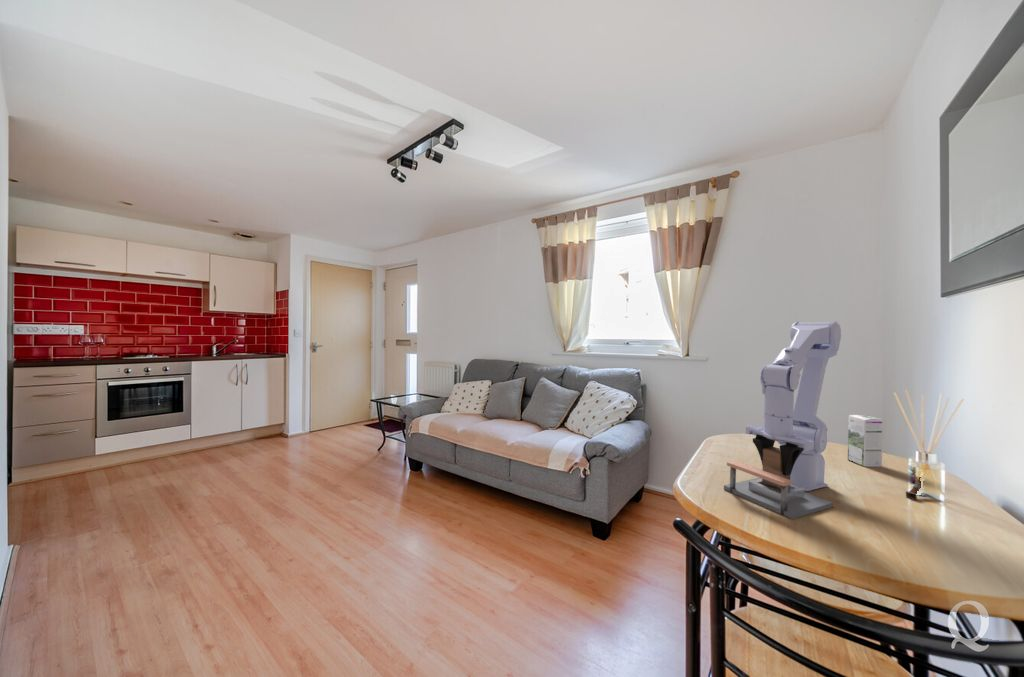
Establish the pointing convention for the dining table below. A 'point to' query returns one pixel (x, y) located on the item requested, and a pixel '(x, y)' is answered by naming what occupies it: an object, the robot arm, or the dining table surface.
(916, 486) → the brown figurine
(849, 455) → the syrup box
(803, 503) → the socket board
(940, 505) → the dining table surface
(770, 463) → the walnut peg
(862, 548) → the dining table surface
